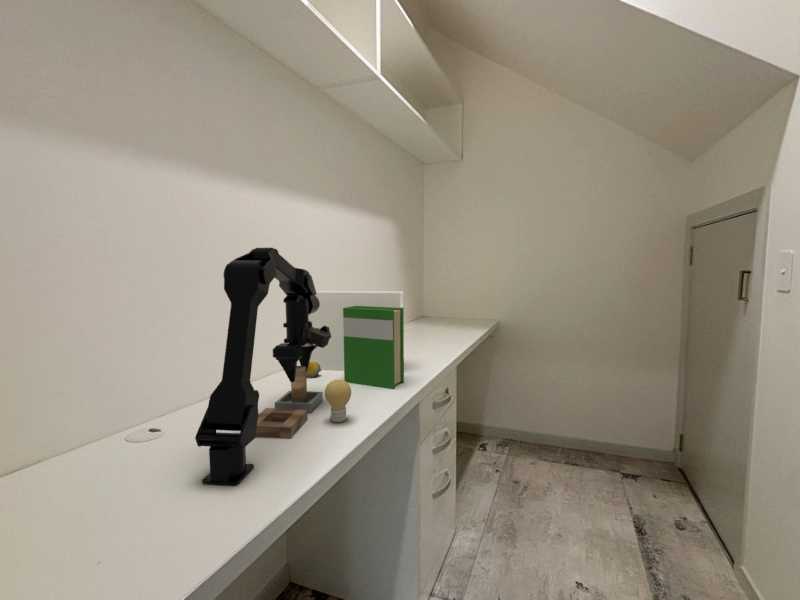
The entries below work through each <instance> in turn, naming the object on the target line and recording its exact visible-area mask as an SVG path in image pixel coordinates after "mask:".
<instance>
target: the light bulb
mask: <svg viewBox="0 0 800 600" xmlns="http://www.w3.org/2000/svg"><path fill="white" fill-rule="evenodd" d="M351 396H352V388H351V385H350V383H347V382H346V381H345V380H343V379H334V380H332V381H329V382H328V384H326V387H325V390H324V398H325V400H326V401H327V403H328V404H329V406H330V421H332V422H334V423H342V422H344V421H345V420H346V419H347V407H346V405H347V404H348V403H349V401H350V400H351Z"/></svg>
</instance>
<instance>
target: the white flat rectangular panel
mask: <svg viewBox="0 0 800 600" xmlns="http://www.w3.org/2000/svg"><path fill="white" fill-rule="evenodd" d="M404 292H405V291H404V290H403V291H402V290H398V291H397V290H396V291H395V290H316V295H315V296H316V297H317V298H318V300H319V302H320V306H319V309H318V310H317V311H316V312H314V313H312V314H309V315H308V319H309V321H311V322H312V327H314V328H319V329H320V328H321V327H323V326H327V327H329V330H330V333H331V338H330V339H329V342H328V345H327V346H325V347H324V348H321V347H316V348H315V349H314V350H313V351H312V354H311V358H310V362H317V363H318V364H319V365H320V369H321V371H336V372H337V371H338V372H340V371H341V372H344V329H343V308H346V307H352V306H371V307H393V308H403V312H404V311H405V308H404V307H405V306H404V305H405V304H404V303H405V301H404V300H405V299H404V297H405V295H404V294H405V293H404ZM404 313H405V312H404ZM313 345H315V344H313Z"/></svg>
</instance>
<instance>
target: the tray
mask: <svg viewBox="0 0 800 600" xmlns="http://www.w3.org/2000/svg"><path fill="white" fill-rule="evenodd" d="M323 397H324V392H323V391H312V390H311V391H309V390H307V403H302V402H292V394H291V390H288V391H287V392H286V393H285V394H283V395H282V396H281V397H280V398H278V399H277V400H276V401H275V402H274V408H275V409H302V410H307V414H312V413H313V412H314V411H315V410H316V409H317V408H318V407H319V405H320V404H321V403H322V402H323V401H324V398H323Z"/></svg>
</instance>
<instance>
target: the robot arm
mask: <svg viewBox="0 0 800 600" xmlns="http://www.w3.org/2000/svg"><path fill="white" fill-rule="evenodd" d="M274 279H276V280H277V281H278V287H279V288H280V289H281V290H282V292H283V293H284V294H285V295H286V296H285V297H284V298H283V301H282V302H283V303H285V322H284V323H283V328H285V329H286V332H285V333H286V338H284V339H283V342H282V343H279V344H277V345H275V347H273V349H272V358H275V360H277V361H278V364H280V367H282V370H283V371H284V372H285V375H286V376H287V378H288V380H289V383H291V382H294V381H295V377H296V367H297V366H298V365H297V364H298V362H299V364H300V365H299V366H305V367H306V372H307V370H308V366H309V362H310V358H311V354H312V351H313V350H314V349H315V348H316V347H321V348H324V347H325V346H327V345H328V342H329V339H330V338H331V333H330V330H329V327H327V326H323V327H321V328H320V329H319V328H314V327H312V322H311V321H309V319H308V315H309V314H312V313H314V312H316V311H317V310H318V309H319V306H320V302H319V300H318V298H317V297H316V296H315V295H316V291H317V290H316V287H315V283H314V281H313V276H312V275H311V274H310V272H309V270H306V269H304V268H300V267H299V268H298V267H294V265H292V264H291V262H289V261H288V260H287V259H285V258H284V257H283V256H282V255H281V254H280V253H279V250H278V249H277V248H274V247H255V248H252V249H251V250H250V251H249V252H247V253H246V254H243V255H241V256H239V257H236V258H234V259H233V260H232V261H230V262H229V263H227V264H226V265H225V267H224V270H223V290H224V292H225V294H226V296H227V298H228V300H229V302H230V311H229V318H228V319H229V320H228V328H227V334H226V335H227V336H226V342H225V349H224V350H225V352H224V359H223V367H222V368H223V369H222V375H221V376H222V377H221V380H220V382H219V384H218V385H217V386H216V388H215V389H214V390H213V391H212V393H211V394H210V396H209V401H208V405H207V408H206V411H205V413H204V415H203V417H202V420H201V422H200V425H199V427H198V430H197V432H196V434H195V436H194V439H195V442H196V445H197V447H199V448H200V447H209V449H208V452H209V453H208V456H209V457H208V458H209V459H208V460H209V473H208V474H207V475H206V476H204V478H202V479H201V481H202V484H209V485H226V486H228V485H230V486H236V485H238V484H239V483H241V481H242V480H244V478H245V477H246V476H247V475H248V474H249V473H250V472H251V471H252V470H253V469H254V467H255V464H254V463H247V456H246V455H247V454H246V450H247V449H246V447H247V446H248V445H249V444H251V442H252V441H254V440H255V439H256V438H257V437H256V430H257V421H258V414H259V401H260V400H259V399H260V392H259V390H256V389H255V388H254V387H253V384H252V382H251V375H252V367H253V358H254V356H253V355H254V349H255V348H254V347H255V339H256V338H255V337H256V329H257V328H256V327H257V319H258V311H259V306H260V305H261V303H262V302H263V301H264V299H265V298H266V297H267V296H268V294H269V290H270V285H271V284H272V281H274ZM313 344H315V345H313ZM217 431H230V432H217ZM237 432H238V433H237ZM239 432H240V433H239Z"/></svg>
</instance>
